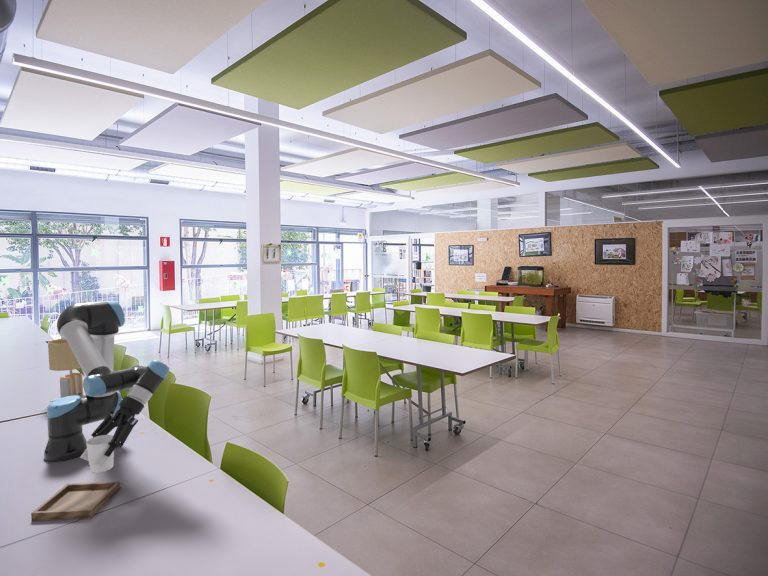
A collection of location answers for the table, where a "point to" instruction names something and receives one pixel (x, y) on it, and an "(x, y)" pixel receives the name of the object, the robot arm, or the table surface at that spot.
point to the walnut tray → (76, 501)
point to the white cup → (95, 449)
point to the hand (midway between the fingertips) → (90, 462)
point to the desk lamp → (65, 368)
